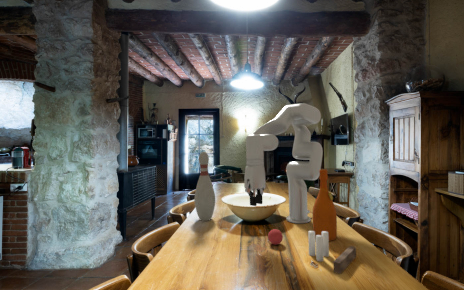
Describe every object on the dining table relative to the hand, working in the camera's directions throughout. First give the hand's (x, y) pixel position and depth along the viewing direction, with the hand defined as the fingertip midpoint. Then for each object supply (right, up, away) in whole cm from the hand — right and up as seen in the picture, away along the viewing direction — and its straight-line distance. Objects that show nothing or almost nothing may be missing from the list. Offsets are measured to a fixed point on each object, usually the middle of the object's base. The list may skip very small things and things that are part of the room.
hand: (256, 204), depth 113 cm
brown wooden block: (+28, -15, -25) cm, 40 cm away
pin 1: (+21, -15, -22) cm, 33 cm away
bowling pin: (-25, -16, +31) cm, 43 cm away
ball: (+7, -12, -6) cm, 16 cm away
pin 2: (+24, -15, -18) cm, 33 cm away
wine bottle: (+30, -15, -1) cm, 33 cm away
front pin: (+19, -15, -17) cm, 30 cm away
